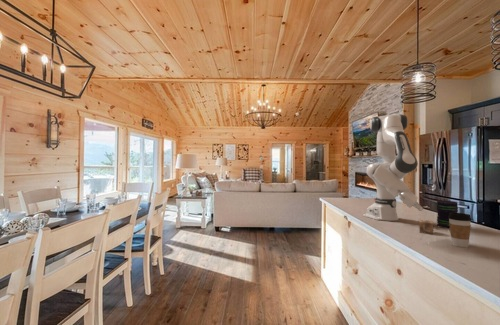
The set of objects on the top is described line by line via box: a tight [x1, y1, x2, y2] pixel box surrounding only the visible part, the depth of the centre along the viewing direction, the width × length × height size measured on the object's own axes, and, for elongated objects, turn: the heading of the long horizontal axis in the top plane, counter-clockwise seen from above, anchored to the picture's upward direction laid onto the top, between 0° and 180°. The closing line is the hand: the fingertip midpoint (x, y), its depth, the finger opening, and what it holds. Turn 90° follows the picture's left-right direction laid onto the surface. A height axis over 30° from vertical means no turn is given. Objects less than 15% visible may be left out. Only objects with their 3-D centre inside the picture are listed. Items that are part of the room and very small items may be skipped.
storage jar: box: [436, 200, 459, 230], centre depth 143 cm, size 10×10×15 cm
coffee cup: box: [448, 212, 472, 248], centre depth 112 cm, size 8×8×15 cm
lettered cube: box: [418, 219, 434, 235], centre depth 133 cm, size 6×6×6 cm
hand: (421, 210), depth 121 cm, fingers closed
